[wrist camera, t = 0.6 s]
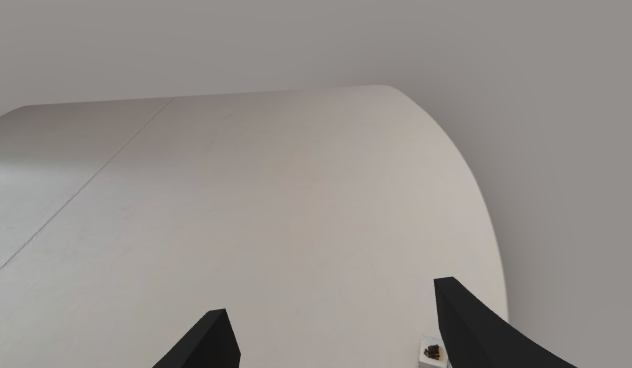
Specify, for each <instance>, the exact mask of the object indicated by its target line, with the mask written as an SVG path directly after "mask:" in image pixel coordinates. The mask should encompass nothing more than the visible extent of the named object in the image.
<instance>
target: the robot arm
mask: <svg viewBox="0 0 632 368" xmlns="http://www.w3.org/2000/svg"><path fill="white" fill-rule="evenodd" d="M434 286H435V296H436V305H437V314H438V323H439V330H440V333H441V336H442V340H443V343H444V346H445V349H446V352H447V355H448V358H449V361H450V363H451V365H452V368H577V367H575V366H573V365H571V364H570V363H568V362H566V361H564V360H562V359H561V358H559V357H557V356H556V355H554V354H552V353H551V352H549V351H547V350H546V349H544V348H543V347H541V346H539V345H538V344H536V343H535V342H533V341H532V340H530V339H529V338H527V337H526V336H524V335H523V334H522V333H520V332H519V331H518V330H516V329H515V328H513V327H512V326H511V325H509V324H508V323H507V322H505V321H504V320H503V319H502V318H500V317H499V316H498V315H497V314H495V313H494V312H493V311H492V310H490V309H489V308H488V307H487V306H486V305H484V304H483V303H482V302H481V301H480V300H479V299H477V298H476V297H475V296H474V295H473V294H472V293H471V292H470V291H468V290H467V289H466V288H465V287H464V286H463V285H462V284H461V283H460V282H459V281H458V280H457V279H455V278H454V277H446V278H439V279H434ZM240 356H241V353H240V350H239V347H238V344H237V341H236V338H235V335H234V332H233V330H232V327H231V324H230V321H229V318H228V315H227V312H226V309H219V310H212V311H208V312H207V313H206V314H205V315H204V316H203V317H202V318H201V319H200V320H199V321H198V322H197V323H196V324H195V325H194V326H193V327H192V328H191V329H190V330H189V331H188V332H187V333H186V334H185V335H184V336H183V337H182V338H181V339H180V340H179V342H178V343H177V344H176V345H175V346H174V347H173V348H172V349H171V350H170V351H169V352H168V353H167V354H166V355H165V356H164V357H163V358H162V359H161V360H160V361H158V362H157V363H156V364H155V365H154V366H153V367H152V368H239V363H240Z"/></svg>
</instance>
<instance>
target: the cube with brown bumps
mask: <svg viewBox="0 0 632 368" xmlns="http://www.w3.org/2000/svg"><path fill="white" fill-rule="evenodd" d="M447 363H448V355H447V352H446V349H445V346H444V343H443V340H441V339H437V338H432V337H428V336H425V335H423V336H422V342H421V348H420V355H419V368H447Z"/></svg>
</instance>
